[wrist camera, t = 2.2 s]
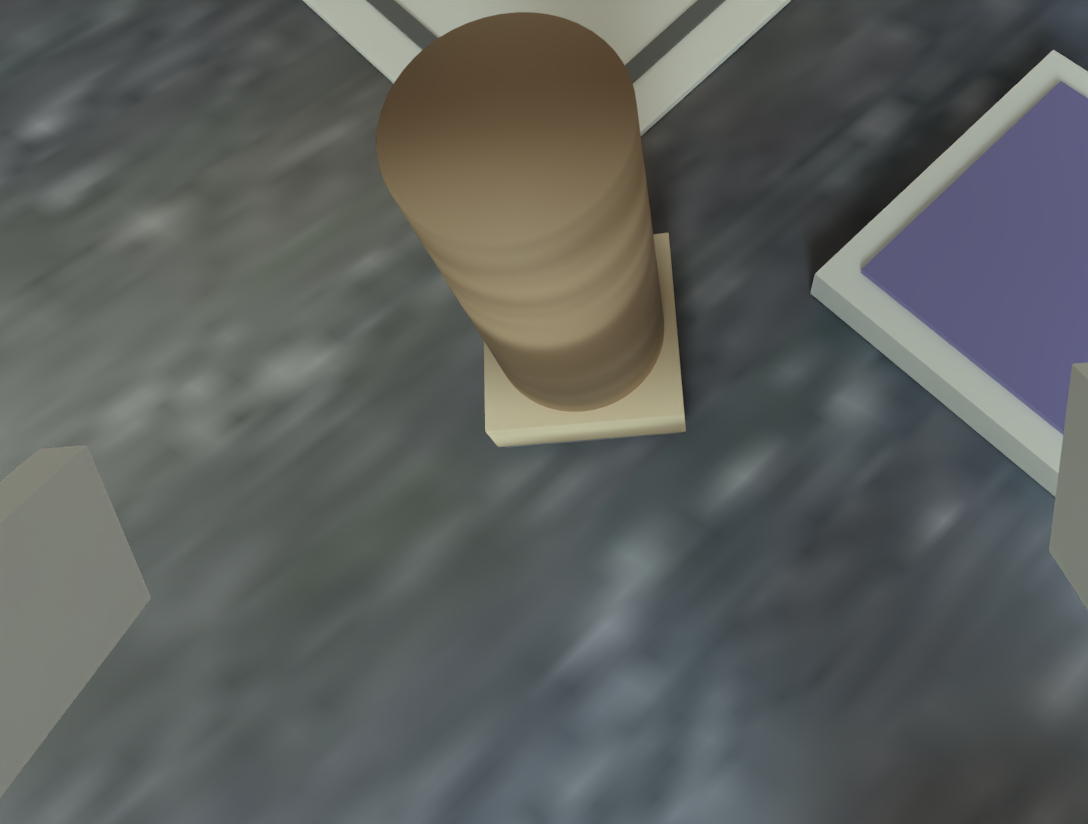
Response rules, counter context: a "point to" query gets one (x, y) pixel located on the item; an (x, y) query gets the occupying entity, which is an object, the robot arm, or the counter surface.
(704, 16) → the sheet
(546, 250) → the stamp
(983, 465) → the counter surface
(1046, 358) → the ink pad
